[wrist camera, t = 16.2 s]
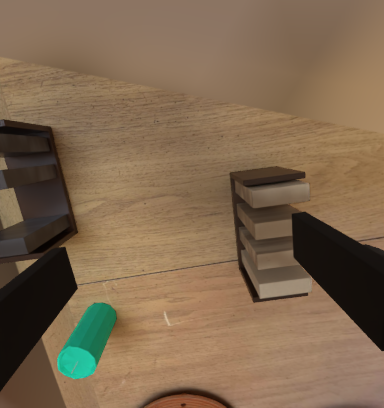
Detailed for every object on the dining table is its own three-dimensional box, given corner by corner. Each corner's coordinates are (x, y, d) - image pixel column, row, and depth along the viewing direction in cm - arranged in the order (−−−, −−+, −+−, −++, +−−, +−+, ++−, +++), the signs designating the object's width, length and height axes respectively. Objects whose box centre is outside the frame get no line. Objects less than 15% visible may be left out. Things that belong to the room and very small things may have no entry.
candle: (118, 304, 45) (94, 359, 34) (114, 331, 47) (90, 392, 35) (86, 300, 45) (51, 353, 33) (84, 327, 46) (49, 387, 35)
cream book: (240, 250, 42) (259, 284, 32) (280, 244, 42) (311, 277, 31) (241, 261, 43) (260, 298, 32) (280, 256, 43) (311, 292, 32)
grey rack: (1, 133, 38) (-82, 126, 26) (50, 126, 38) (-11, 116, 26) (33, 238, 42) (-26, 273, 30) (77, 232, 42) (35, 265, 30)
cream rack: (229, 172, 40) (247, 182, 28) (276, 166, 40) (313, 173, 28) (238, 268, 44) (257, 312, 33) (281, 263, 44) (315, 304, 32)
